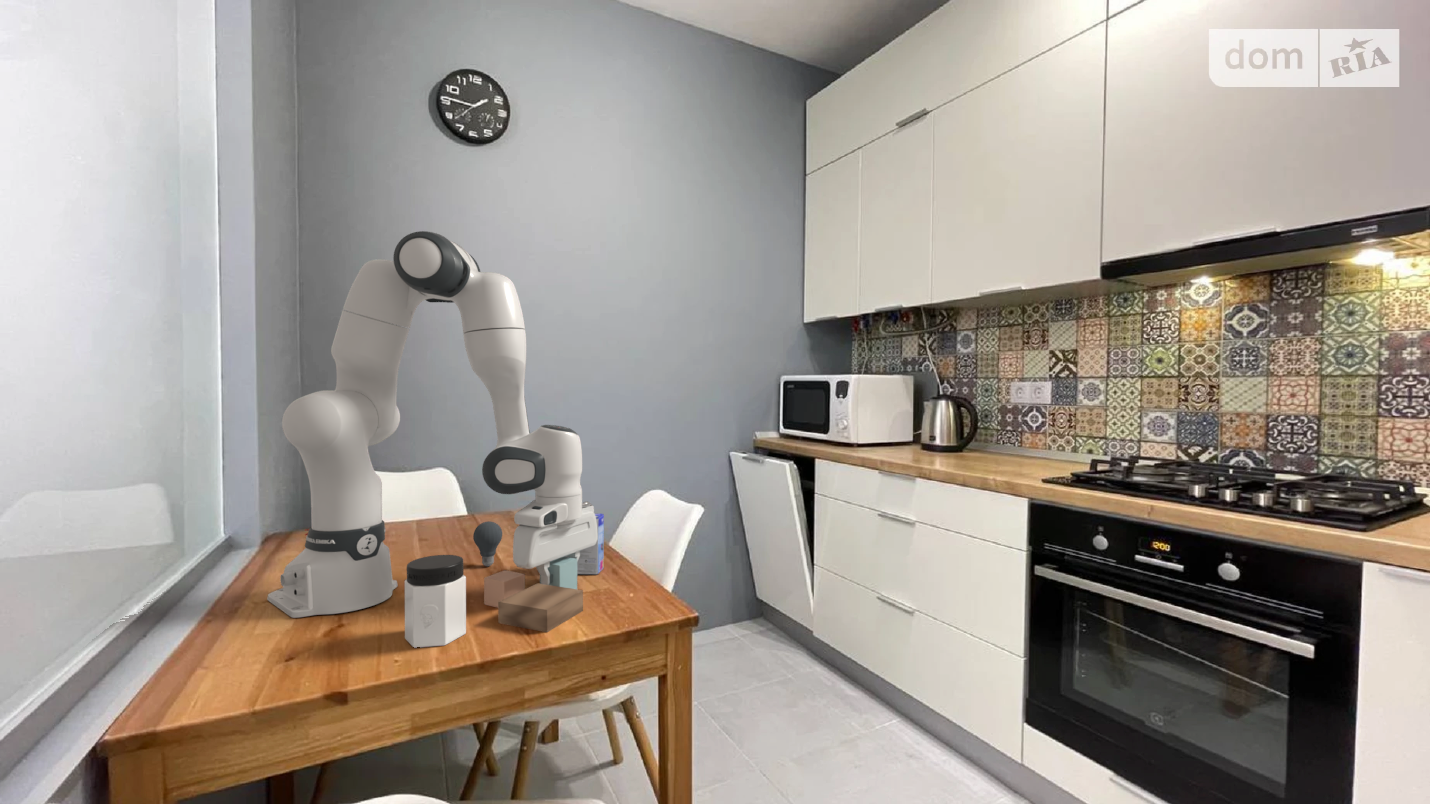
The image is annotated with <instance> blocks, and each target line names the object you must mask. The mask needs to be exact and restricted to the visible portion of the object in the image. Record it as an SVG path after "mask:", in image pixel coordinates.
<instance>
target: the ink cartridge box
mask: <svg viewBox="0 0 1430 804" xmlns="http://www.w3.org/2000/svg"><path fill="white" fill-rule="evenodd" d="M594 514H595V516H596V522H597V533H598V539H597V542H596V544H595V545H594V546H591V547H589V548H586V549H583V550H580V557H579V559H578V562H577V575H599V574H600V573H601V572H602V571H603V570H604V568H605V567H604V566H605V563H604V562H605V559H604V552H605V551H604V550H605V549H604V548H605V547H604V546H605V545H604V543H605V542H604V541H605V540H604V539H605V536H604V535H605V533H604V532H605V529H604V528H605V527H604V525H605V521H604V520H605V515H604V513H594ZM564 557H569V556H564Z"/></svg>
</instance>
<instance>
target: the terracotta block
mask: <svg viewBox="0 0 1430 804" xmlns="http://www.w3.org/2000/svg"><path fill="white" fill-rule="evenodd" d="M525 576H526V574H525V573H521V572H516V571H511V570H505V569H504V570H502V571H500V572H497V573H493V574H491V575H489V576H488V575H487V576H484V578H483V589H484V590H483V592H484V593H483V594H484V595H483V597H484V599H483V601H484V602H483V604H484V605H486V606H490V607H494V608H497V609H498V602H499V601H501V600H503V599H505V598H507V597H509V596H512V595H514V594H516V593H518V592H520V591H522V590H524V589H526V585H525V584H526V577H525Z"/></svg>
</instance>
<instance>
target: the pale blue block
mask: <svg viewBox="0 0 1430 804" xmlns="http://www.w3.org/2000/svg"><path fill="white" fill-rule="evenodd" d="M548 571H549V573H550V574H553V583H551V584H549V585H551V586H558V587H564V588H571V589H578V574H577V559H575V558H569V557H561V558H559V559H556V560H553V561H550V567H548ZM539 584H541V575H540V574H539Z"/></svg>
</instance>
